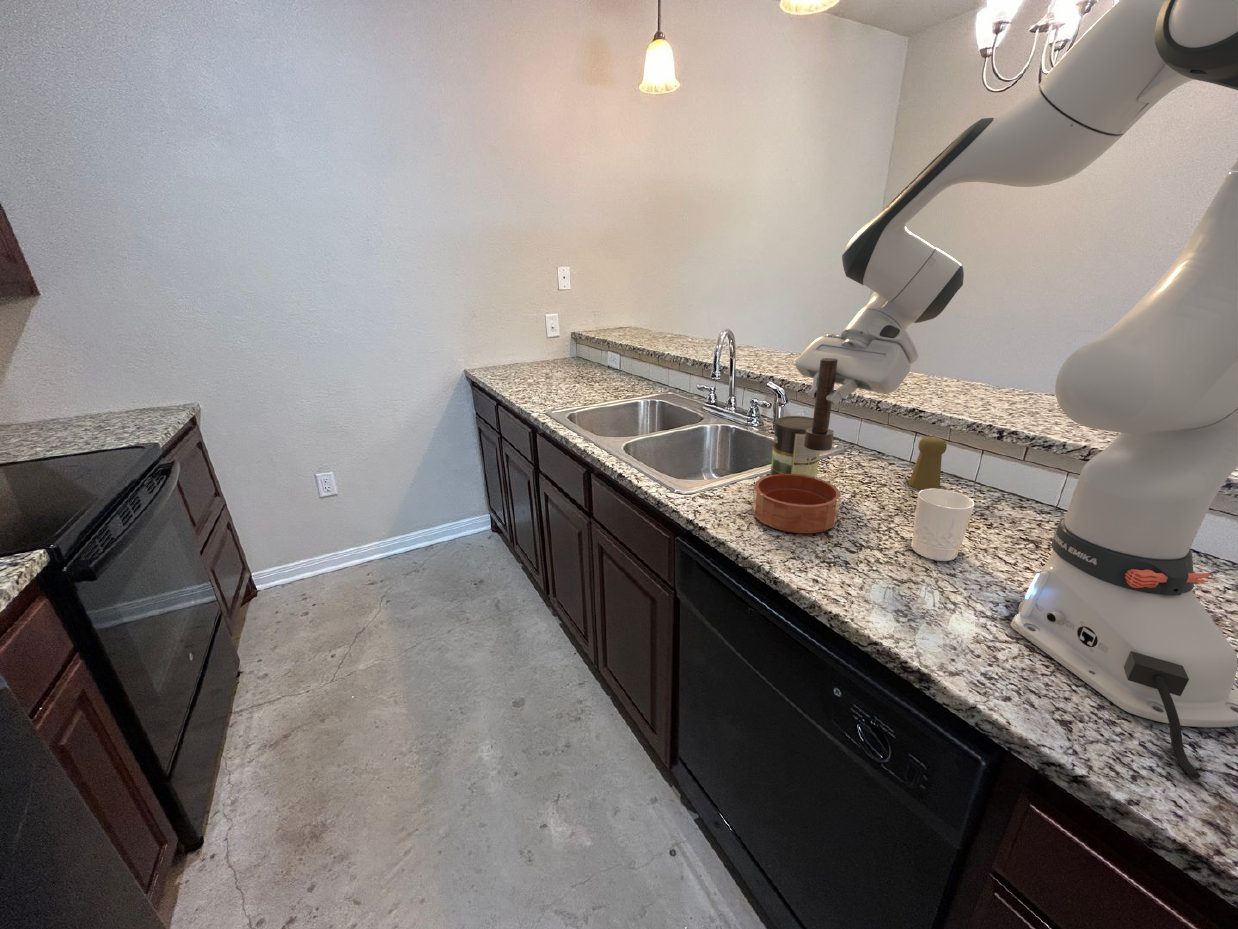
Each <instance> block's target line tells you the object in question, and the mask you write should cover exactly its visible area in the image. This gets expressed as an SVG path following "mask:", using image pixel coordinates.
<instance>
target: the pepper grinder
mask: <svg viewBox="0 0 1238 929" xmlns="http://www.w3.org/2000/svg"><path fill="white" fill-rule="evenodd" d="M947 444H948V443H947V442H946V440H944V439H942V438H941V437H937V436H925V437H922V438H921V439H920V440H919V442H918V446H917V447H918V450H919V454H918V456H917V459H916V462H915V463H914V467H913V469H912V472H911V475H910V478H909V481H908V485H909V486H910V487H912V488H915V489H918V490H920V491H921V490H924V489H941V472H942V457H943V454H945V453H946V451H947V448H948V446H947Z"/></svg>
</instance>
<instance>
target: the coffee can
mask: <svg viewBox="0 0 1238 929" xmlns="http://www.w3.org/2000/svg"><path fill="white" fill-rule="evenodd" d="M812 423H813V417H811V416H810V417H809V416H801V415H786V416H785V415H784V416H781V417H778V418H776V419H775V420H774V430H773V431H774V432H773V443H772V452H771V453H772V454H771V465H770V473H769V475H775V474H799V475H806V476H811V477H815V478H817V475H818V469H819V468H818V467H819V460H820V455H821V454H820V453H821V451H816V450H811V449H808V448H806V447H805V446H804V441H805V433H806V429H808V428H812Z"/></svg>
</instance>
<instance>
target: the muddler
mask: <svg viewBox="0 0 1238 929" xmlns="http://www.w3.org/2000/svg"><path fill="white" fill-rule="evenodd" d="M837 362H838V360H837V359H833V358H823V359H820V366H819V375H818V383H817V391H816V399H814V407H813V408H814V410H813V416H812V418H813V423H812V428H808V429H806V433H805V441H804V446H805V447H806V448H808V449H811V450H816V451H820V452H825V451H826V452H827V451H830V450H831V449H832V448H833V442H834V436H835V432H834V431H833V429H830V428H829V427H830V421H831V413H832V405H833V404H831V403H828V401H827V400H826V396H827V395H829V393H830V391H831V390H832V391H835V384H836V383H835V377H836V369H837Z"/></svg>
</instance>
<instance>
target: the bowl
mask: <svg viewBox="0 0 1238 929" xmlns="http://www.w3.org/2000/svg"><path fill="white" fill-rule="evenodd" d="M752 498H753V499H752V513H753V515H754V517H755V518H756V519H757V520H758V521H759V522H761V523H762V524H764V525H766V526H768V527H770V528H772V529H775V530H780V531H783V532H786V533H787V532H788V533H793V534H817V533H821V532H826V531H828V530H830V529H832V528H833V527H834V526H835V525H836V524H837V521H838V515H839V509H840V502H841V490H839V489H838V488H837V486H835V485H834V484H832V483H830V482H828V481H827V480H823V479H821V478H818V477H816V478H815V477H811V476H806V475H799V474H775V475H770V474H769V475H766V476H762V477H760V478H759V479H757V480H756V481H755V484H754V487H753V496H752Z"/></svg>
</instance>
